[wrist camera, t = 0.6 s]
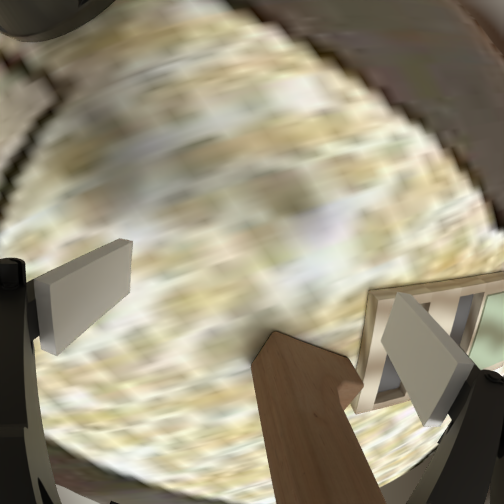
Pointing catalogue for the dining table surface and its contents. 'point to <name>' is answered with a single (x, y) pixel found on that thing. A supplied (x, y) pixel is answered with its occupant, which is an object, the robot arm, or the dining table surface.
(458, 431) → the robot arm
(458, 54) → the dining table surface
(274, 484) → the wooden block
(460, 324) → the board
